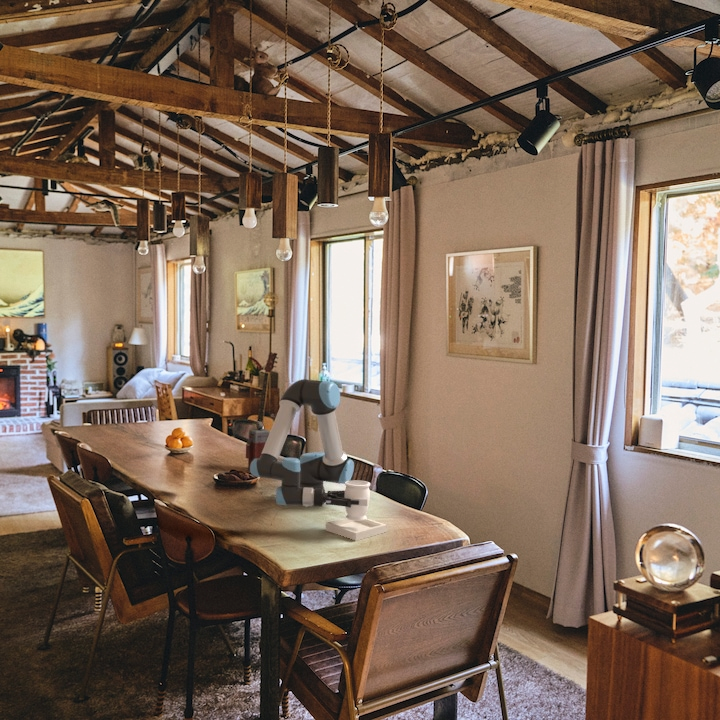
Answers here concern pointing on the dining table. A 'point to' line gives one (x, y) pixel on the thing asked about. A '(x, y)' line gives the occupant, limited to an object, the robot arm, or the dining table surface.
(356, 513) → the jar
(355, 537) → the white square tray
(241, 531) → the dining table surface
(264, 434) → the toy vending machine
